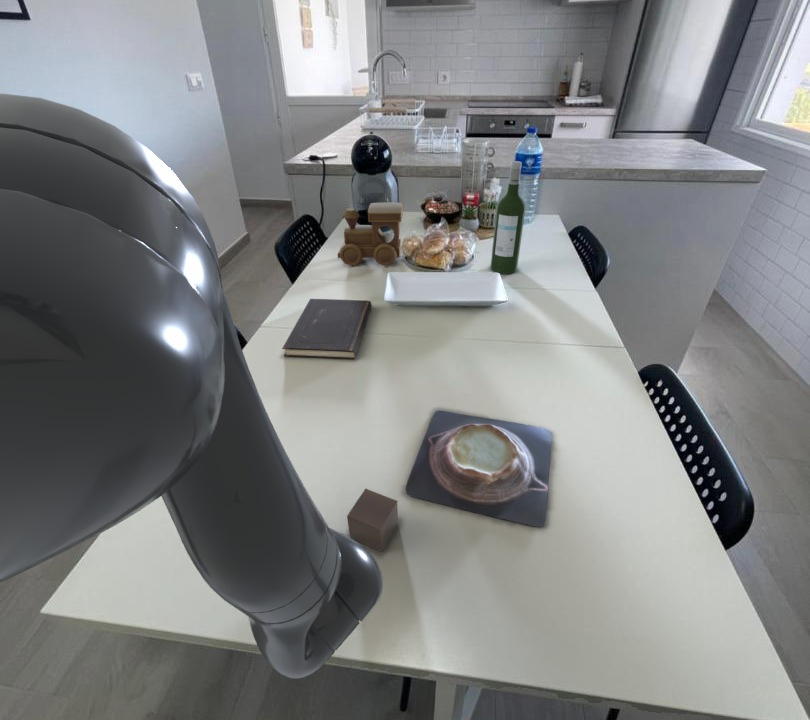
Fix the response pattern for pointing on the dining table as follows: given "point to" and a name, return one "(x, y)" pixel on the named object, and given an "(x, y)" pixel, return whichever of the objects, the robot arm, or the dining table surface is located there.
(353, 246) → the wooden toy train
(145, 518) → the dining table surface
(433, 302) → the tray
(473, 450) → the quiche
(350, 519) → the walnut block
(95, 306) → the robot arm
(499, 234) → the wine bottle
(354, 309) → the hardcover book
